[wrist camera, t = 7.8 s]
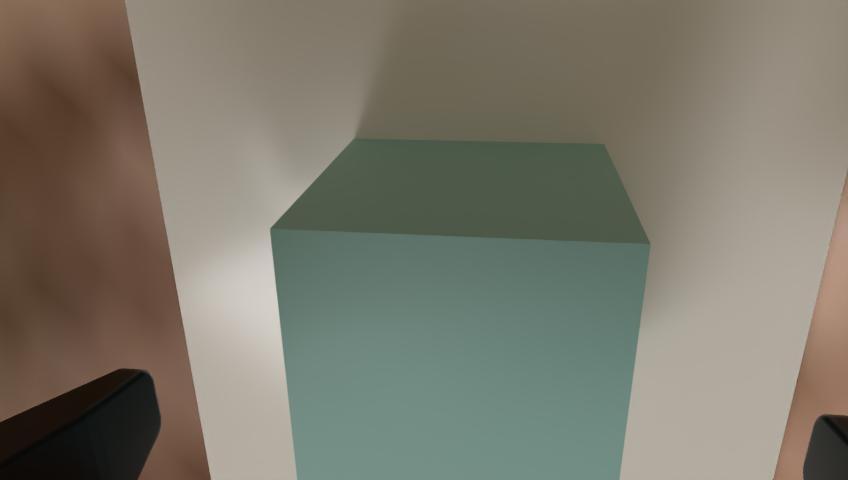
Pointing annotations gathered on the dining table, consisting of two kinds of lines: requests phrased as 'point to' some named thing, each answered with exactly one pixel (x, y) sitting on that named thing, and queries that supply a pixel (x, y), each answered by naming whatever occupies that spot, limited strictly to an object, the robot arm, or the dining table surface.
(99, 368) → the dining table surface
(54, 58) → the dining table surface
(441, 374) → the cube
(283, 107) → the plate
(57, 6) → the dining table surface
